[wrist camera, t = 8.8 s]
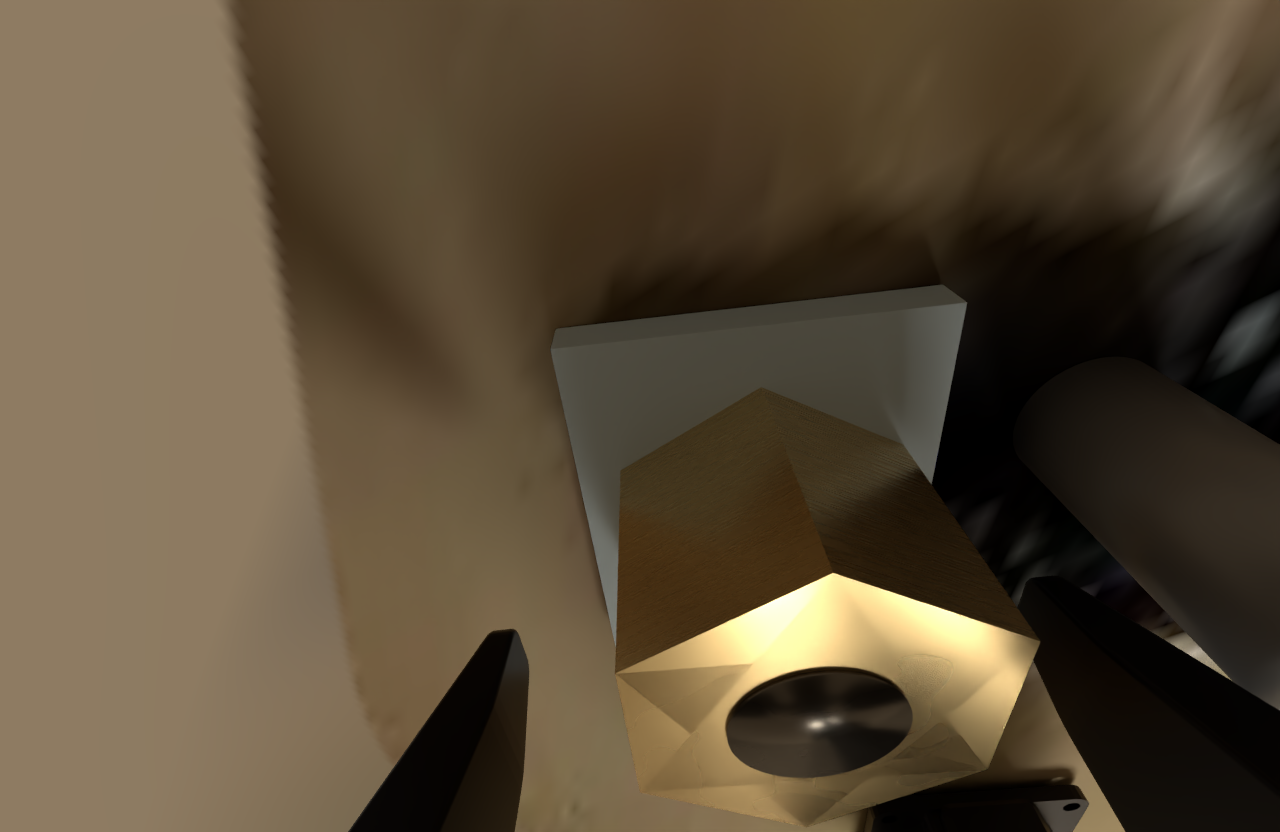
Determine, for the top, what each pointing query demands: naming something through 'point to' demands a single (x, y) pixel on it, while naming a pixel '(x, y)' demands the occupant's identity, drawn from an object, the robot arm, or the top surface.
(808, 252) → the top surface
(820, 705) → the hex nut
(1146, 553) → the spacer field
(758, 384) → the pad
